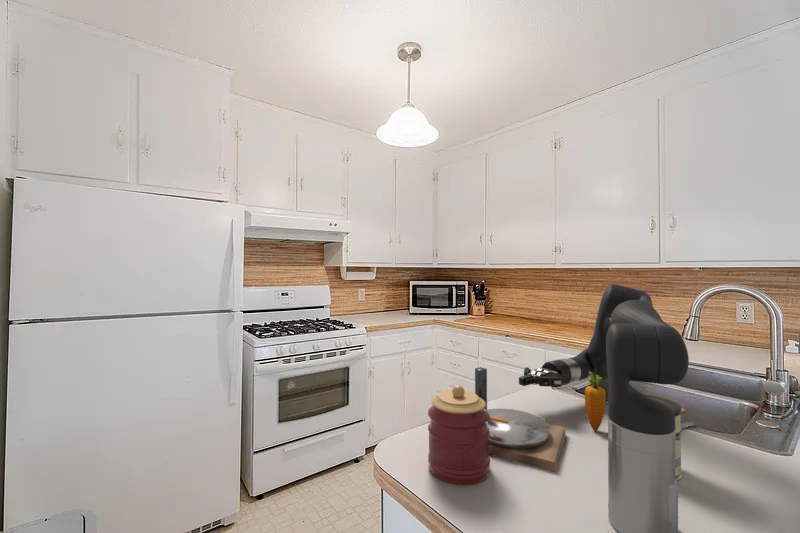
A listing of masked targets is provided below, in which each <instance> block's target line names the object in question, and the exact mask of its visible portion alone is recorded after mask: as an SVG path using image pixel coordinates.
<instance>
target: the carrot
mask: <svg viewBox="0 0 800 533" xmlns="http://www.w3.org/2000/svg"><path fill="white" fill-rule="evenodd" d="M589 375H590V376H589V378H588V379H587V381H588V383H589V384H590V385H588V386H586V388H585V389H584V405H585V406H584V407H585V412H586V417H587V419H588V422H589V425H590V427H591V429H592V430H593V431H594V432H597V431H599V430H598V429H600V427H601V424H602V422H603V418H604V415H605V414H604V413H605V411H606V410H605V409H606V390H605V389H604V388H602V387H600V386H599V385H600V384H601V382H602V381H601V380H602V378H601V377H600V378H599V376H598V375H596V381H595V378H594V375H593V373H592V372H589Z"/></svg>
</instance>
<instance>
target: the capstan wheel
mask: <svg viewBox="0 0 800 533" xmlns="http://www.w3.org/2000/svg"><path fill="white" fill-rule="evenodd" d="M474 394H476V395H477V396H478V397H480V398H481V399H483V400H484V401H485V403H486V406H485V409H486V410H487V411H488V412H489V414H490V418H489V420H488V422H487V426H488V428H489V430H490V435H489V443H491V444H494V445H497V446H501V447H506V448H513V449H529V448H535V447H539V446H542V445H544V444H545V443H546V442H547V441H548V440H549V426H548V424H549V423H547V422H546V421H545V420H544V419H543V418H541V417H539V416H538V415H535V414H533V413H530V412H528V411H523V410H518V409H513V408H512V409H511V408H490V409H489V408H488V369H487V368H485V367H476V368H474Z"/></svg>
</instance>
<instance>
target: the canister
mask: <svg viewBox="0 0 800 533" xmlns="http://www.w3.org/2000/svg"><path fill="white" fill-rule="evenodd" d="M431 403H432V405H431V406H430V407H429V409H428V410H427V415H428V417H429V419H430V420H429V421H430V422H429V424H428V426H427V431H428V454H427V457H428V458H427V459H428V460H427V462H428V465H429V466H428V467H429V469H430V470H429V471H430V473H432V474H433V476H435V477H436V478H437V479H439V480H440V481H441V480H442V481H443V482H446V483H449V484H453V485H459V486H462V485H463V486H465V485H473V484H477V483H480V482H482V481H483V480H485V479H486V478H487V477H488V476H489V473H490V472H489V471H490V467H491V458H490V455H489V435H490V430H489V428H488V426H487V422H488V420H489V418H490V414H489V412H488V411H487V410H488V409H487V410H486V409H485V406H486V403H485V401H484V400H483V399H481V398H480V397H478V396H477V395H476V394H475V392H471V391H469V390H465V388H464V387H463V386H462V385H459V384H456V385H454V386H453V387H452V389H449V390H444V391H441V392H440V393H439V394H437V395H434V397H433V398H432V399H431Z"/></svg>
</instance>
